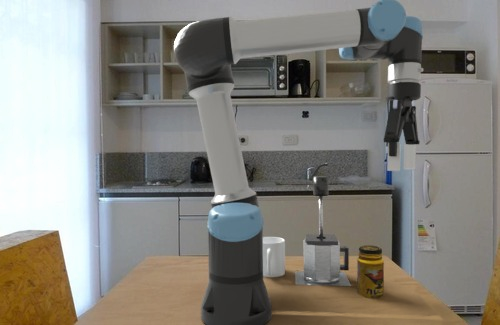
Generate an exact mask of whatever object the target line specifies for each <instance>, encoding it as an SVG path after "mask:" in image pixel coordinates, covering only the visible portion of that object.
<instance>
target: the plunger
mask: <svg viewBox="0 0 500 325" xmlns="http://www.w3.org/2000/svg"><path fill="white" fill-rule="evenodd" d="M312 178H313V179H312V180H313V181H312V189H313V191H312V192H313V196H314V197H318V224H319V225H318V229H319V231H318V234H319V239H323V234H324V209H323V208H324V202H323V201H324V200H323V199H324V198H323V197H328V196H329V176H313V177H312Z"/></svg>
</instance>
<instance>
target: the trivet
mask: <svg viewBox="0 0 500 325" xmlns="http://www.w3.org/2000/svg"><path fill="white" fill-rule="evenodd" d="M294 274H295V285H296V286H305V285H306V286H327V287H328V286H335V287H352V284H351V283H350V280H349V278H348V276H347V274H346V272H345V271H340V280H339V281H338V282H336V283H333V284H315V283H311V282H308V281H306V280H305V279H304V270H295V271H294Z"/></svg>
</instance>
